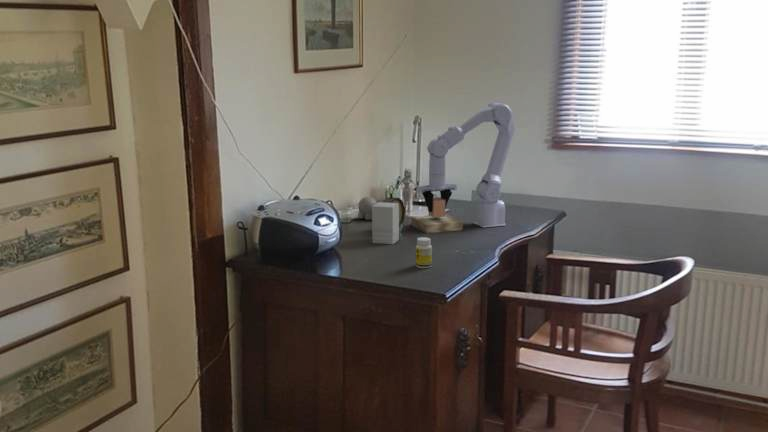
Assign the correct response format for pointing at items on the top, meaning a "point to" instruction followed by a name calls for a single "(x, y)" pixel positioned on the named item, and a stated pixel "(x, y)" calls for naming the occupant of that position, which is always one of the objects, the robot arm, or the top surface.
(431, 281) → the top surface
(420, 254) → the supplement bottle
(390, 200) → the alarm clock
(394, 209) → the supplement box
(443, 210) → the block
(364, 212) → the chubby cartoon animal
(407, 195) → the human figurine
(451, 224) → the plinth
